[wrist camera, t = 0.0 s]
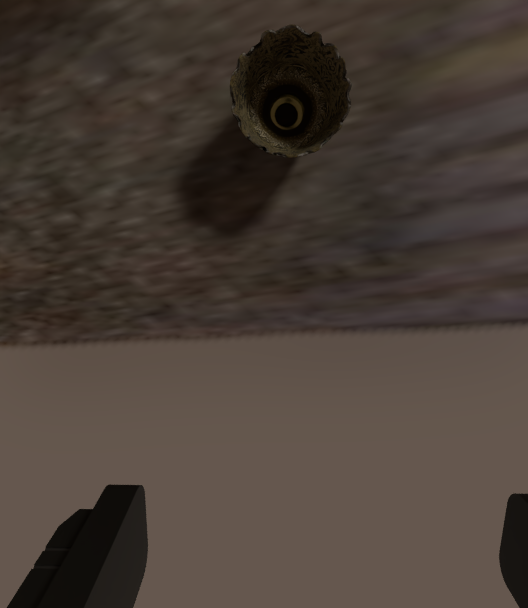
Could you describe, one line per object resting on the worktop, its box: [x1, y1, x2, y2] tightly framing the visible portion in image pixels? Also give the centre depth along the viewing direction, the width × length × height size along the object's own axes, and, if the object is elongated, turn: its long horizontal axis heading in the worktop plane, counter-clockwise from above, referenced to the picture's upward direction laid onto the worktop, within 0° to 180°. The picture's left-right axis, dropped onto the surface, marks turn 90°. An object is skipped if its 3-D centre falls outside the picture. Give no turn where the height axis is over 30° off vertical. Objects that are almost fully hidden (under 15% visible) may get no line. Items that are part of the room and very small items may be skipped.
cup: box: [230, 25, 352, 158], centre depth 32 cm, size 8×7×8 cm
